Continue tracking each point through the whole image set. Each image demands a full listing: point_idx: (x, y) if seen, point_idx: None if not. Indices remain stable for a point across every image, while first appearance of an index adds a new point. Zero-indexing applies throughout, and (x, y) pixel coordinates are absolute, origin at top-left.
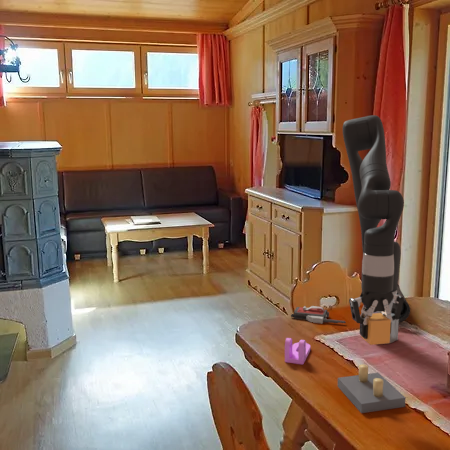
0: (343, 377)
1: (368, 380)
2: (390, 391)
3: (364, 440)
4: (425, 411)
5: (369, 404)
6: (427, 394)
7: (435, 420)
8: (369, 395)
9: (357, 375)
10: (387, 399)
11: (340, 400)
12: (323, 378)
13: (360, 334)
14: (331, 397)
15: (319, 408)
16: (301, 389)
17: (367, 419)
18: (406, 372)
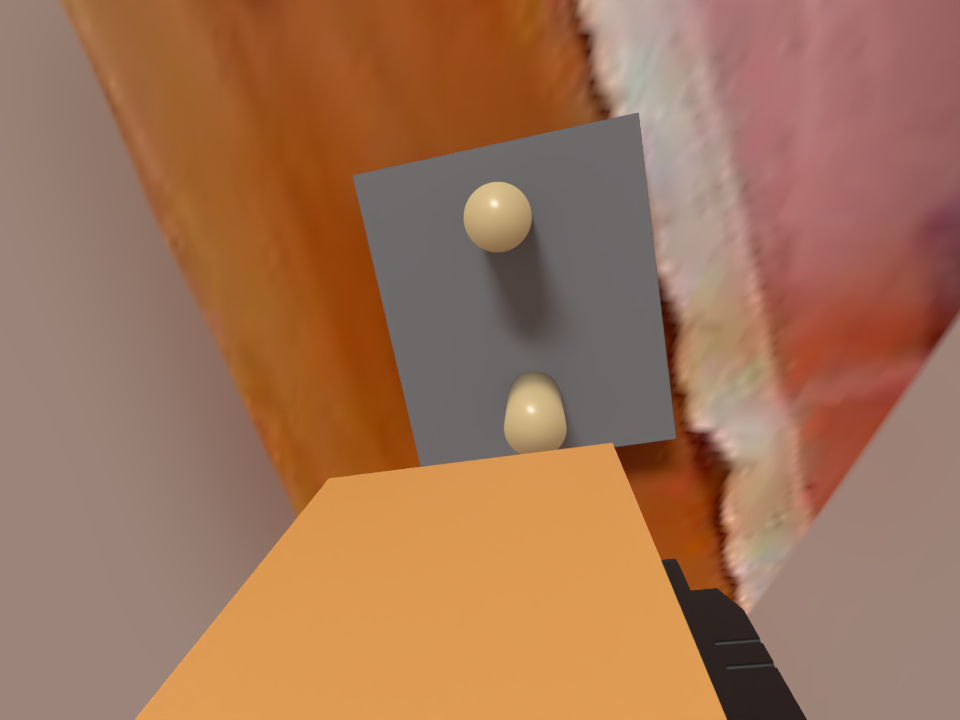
0: (388, 174)
1: (535, 224)
2: (619, 368)
3: None
4: (744, 467)
5: None
6: (850, 310)
7: (750, 539)
8: (486, 398)
9: (485, 149)
10: (569, 447)
11: (358, 332)
12: (303, 71)
13: None
14: (318, 299)
15: (249, 394)
16: (172, 203)
17: None
18: (877, 4)
